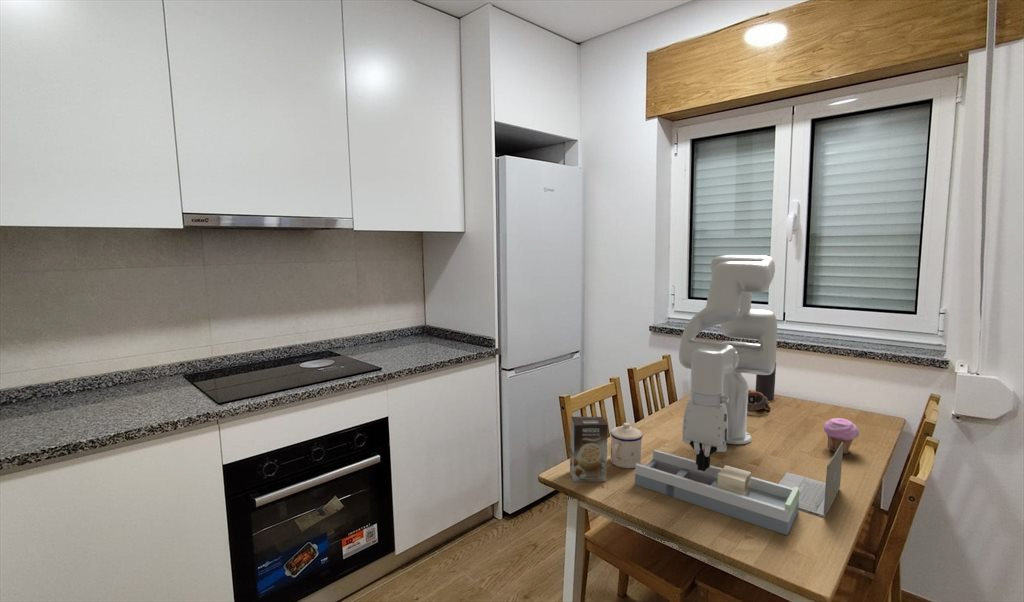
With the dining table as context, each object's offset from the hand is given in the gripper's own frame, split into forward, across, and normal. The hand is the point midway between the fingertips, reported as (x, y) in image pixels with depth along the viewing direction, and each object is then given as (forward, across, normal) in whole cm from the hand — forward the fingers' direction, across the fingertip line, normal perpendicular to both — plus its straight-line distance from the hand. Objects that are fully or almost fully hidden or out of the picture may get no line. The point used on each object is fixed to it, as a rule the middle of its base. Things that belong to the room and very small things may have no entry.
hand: (702, 468), depth 125 cm
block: (+4, -7, 0) cm, 8 cm away
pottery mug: (+6, +6, -75) cm, 75 cm away
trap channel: (+7, -2, -1) cm, 7 cm away
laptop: (+7, -20, -17) cm, 27 cm away
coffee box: (+7, +28, +9) cm, 30 cm away
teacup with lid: (+7, +24, -4) cm, 25 cm away
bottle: (+6, +7, -92) cm, 93 cm away
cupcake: (+6, -23, -52) cm, 58 cm away
